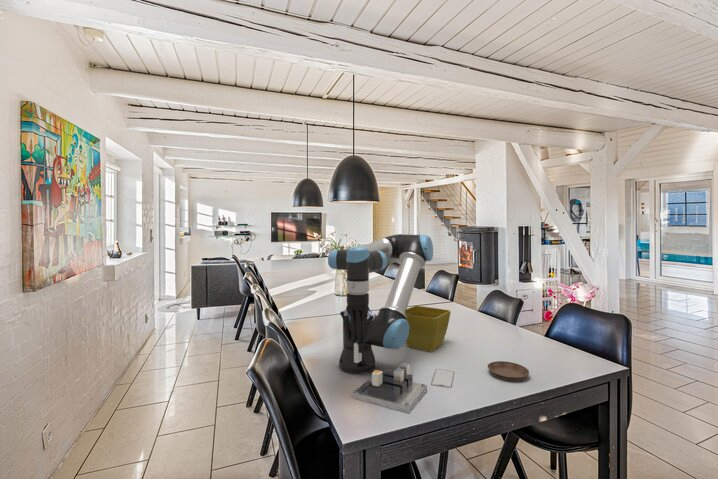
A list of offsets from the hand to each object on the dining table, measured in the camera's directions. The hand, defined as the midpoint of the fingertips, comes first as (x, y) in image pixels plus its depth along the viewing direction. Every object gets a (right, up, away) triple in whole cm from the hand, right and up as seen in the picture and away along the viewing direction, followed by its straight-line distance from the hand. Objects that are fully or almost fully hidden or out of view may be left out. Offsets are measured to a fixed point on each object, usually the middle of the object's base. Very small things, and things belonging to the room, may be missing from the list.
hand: (357, 361), depth 122 cm
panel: (+11, -12, +1) cm, 16 cm away
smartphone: (+32, -12, +14) cm, 37 cm away
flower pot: (+32, -10, +49) cm, 60 cm away
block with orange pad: (+6, -7, -3) cm, 10 cm away
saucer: (+58, -11, +16) cm, 61 cm away
